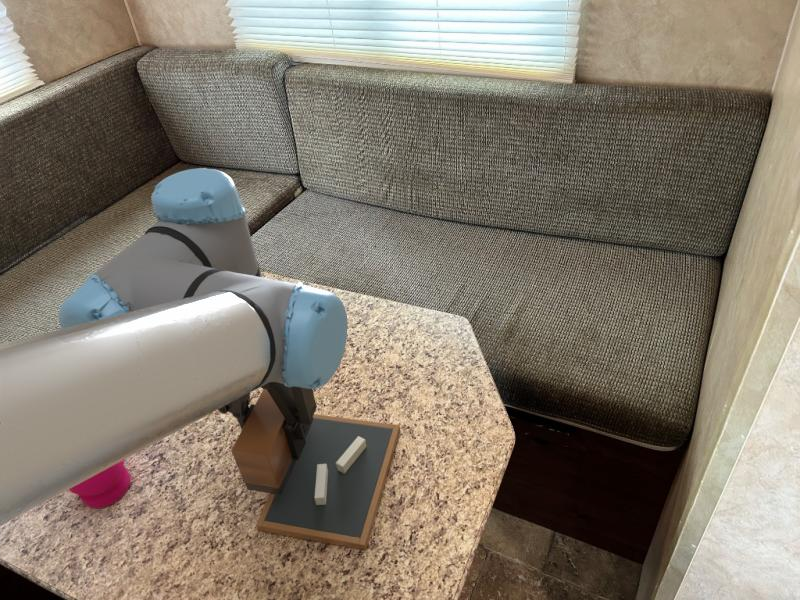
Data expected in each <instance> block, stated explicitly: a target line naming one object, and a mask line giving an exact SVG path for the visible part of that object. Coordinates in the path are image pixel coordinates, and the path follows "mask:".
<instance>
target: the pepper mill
mask: <svg viewBox="0 0 800 600" xmlns="http://www.w3.org/2000/svg"><path fill="white" fill-rule="evenodd" d="M130 484H131V475H130V473H129V471H128V470H127V468H126V467H125V459H124V460H122V461H121V462H119V463H117V464H115V465H113V466H111V467H109V468H108V469H106V470H104V471H102V472H100V473H98V474H96V475H94V476H93V477H91V478H89V479H87V480H85V481H83V482H81V483H80V484H78V485H76V486H74V487H72V488H70V489H68V491H70V492H71V493H73V494H74V495H78V497H79V498H80V500H81V501H82V502H83V504H84V505H85V506H86V507H89V508H92V509H103V508H106V507H109V506H111V505H113V504H114V503H116V502H118V501H119V500H121V498H123V496H124V495H125V494H126V493H127V492H128V490H129V488H130V486H131V485H130Z"/></svg>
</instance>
